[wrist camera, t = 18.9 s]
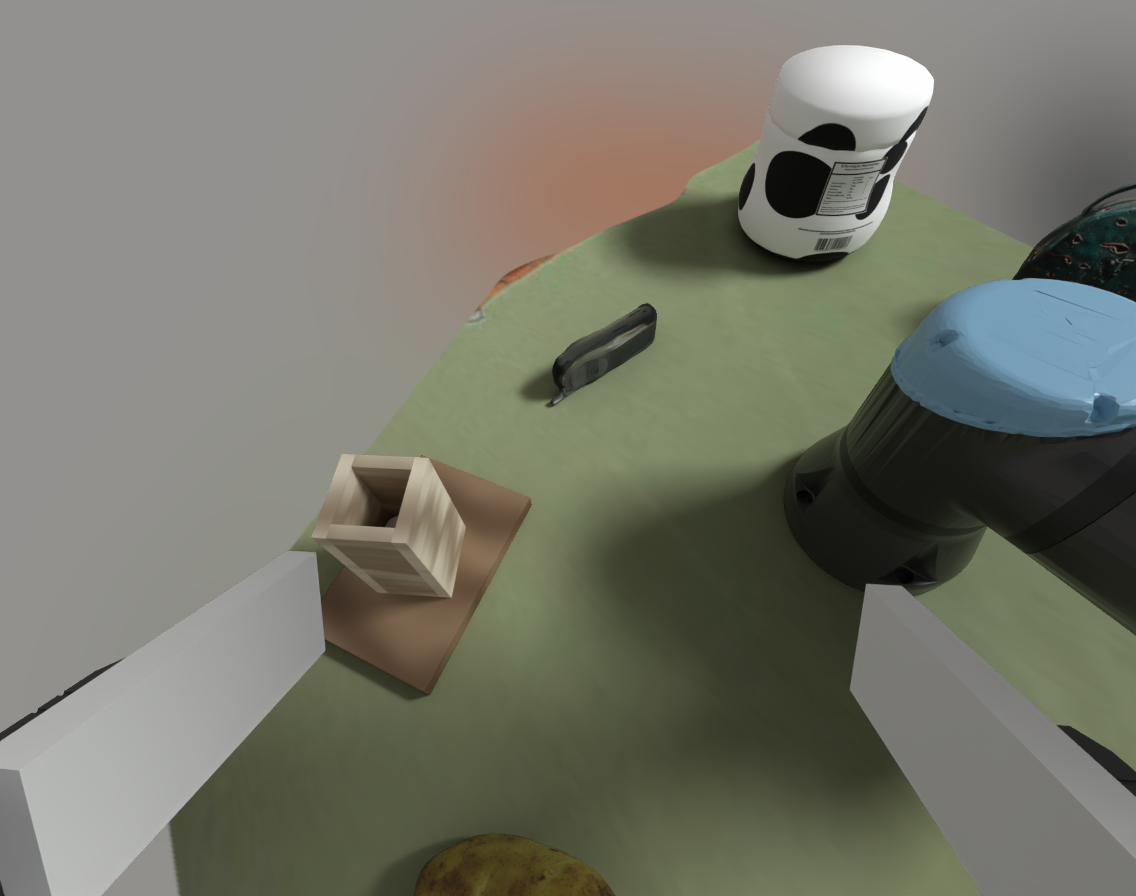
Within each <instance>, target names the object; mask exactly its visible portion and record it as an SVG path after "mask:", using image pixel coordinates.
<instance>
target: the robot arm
mask: <svg viewBox="0 0 1136 896" xmlns="http://www.w3.org/2000/svg"><path fill="white" fill-rule="evenodd" d="M784 504H785V512H786V516H787V519H788V522H789V525H790V528H791V530H792V532H793V534H794V536H795V537H796V539H797V541H798V542H799V544H800V545H801V547H802V548H803V549H804V550H805V552H806V553H807V554H808V555H809V556H810V557H811V558H812V559H813V560H814V561H815V562H816V563H817V564H818V565H819V566H820V567H821V568H823V569H824V570H825V571H826V572H828V573H829V574H831V575H832V576H834V577H835V578H837V579H839V580H840V581H842V582H844V583H846V584H848V585H850V586H852V587H855V588H857V589H860V590H863V591H865V595H864V601H863V608H862V614H861V620H860V627H859V633H858V640H857V646H856V652H855V659H854V665H853V672H852V678H851V684H850V691H851V692H852V694H853V696H854V697H855V699H856V700H857V702H858V703H859V705H860V706H861V708H862V710H863V711H864V713H865V714H866V716H867V717H868V719H869V720H870V722H871V723H872V725H873V727H874V728H875V730H876V731H877V733H878V734H879V736H880V737H881V739H882V741H883V742H884V744H885V745H886V747H887V748H888V750H889V751H890V753H891V755H892V756H893V758H894V759H895V761H896V762H897V764H898V765H899V767H900V768H901V770H902V772H903V773H904V775H905V776H906V778H907V779H908V781H909V782H910V784H911V786H912V787H913V789H914V790H915V792H916V793H917V795H918V796H919V798H920V800H921V801H922V803H923V804H924V806H925V807H926V809H927V810H928V812H929V814H930V815H931V817H932V818H933V820H934V821H935V823H936V824H937V826H938V827H939V829H940V831H941V832H942V834H943V835H944V837H945V838H946V840H947V841H948V843H949V845H950V846H951V848H952V849H953V851H954V852H955V854H956V855H957V857H958V859H959V860H960V862H961V863H962V865H963V866H964V868H965V869H966V871H967V872H968V874H969V876H970V877H971V879H972V880H973V882H974V883H975V885H976V886H977V888H978V890H979V891H980V893H981V894H982V896H1136V772H1135V771H1134V770H1133V769H1132V768H1131V767H1130V766H1128V765H1127V764H1126V763H1125V762H1124V761H1123V760H1121V759H1120V758H1119V757H1118V756H1117V755H1115V754H1114V753H1113V752H1112V751H1110V750H1108V749H1107V748H1105V747H1104V746H1102V745H1100V744H1099V743H1097V742H1095V741H1094V740H1092V739H1090V738H1089V737H1087V736H1085V735H1084V734H1082V733H1080V732H1079V731H1077V730H1075V729H1074V728H1072V727H1070V726H1061V725H1055V724H1054V723H1053V722H1052V721H1051V720H1050V719H1049V718H1048V717H1047V716H1045V715H1044V714H1043V713H1042V712H1041V711H1040V710H1039V709H1038V708H1037V707H1035V706H1034V705H1033V704H1032V703H1031V702H1030V701H1029V700H1028V699H1027V698H1025V697H1024V696H1023V695H1022V694H1021V693H1020V692H1019V691H1018V690H1017V689H1016V688H1014V687H1013V686H1012V685H1011V684H1010V683H1009V682H1008V681H1007V680H1006V679H1004V678H1003V677H1002V676H1001V675H1000V674H999V673H998V672H997V671H996V670H994V669H993V668H992V667H991V666H990V665H989V664H988V663H987V662H986V661H984V660H983V659H982V658H981V657H980V656H979V655H978V654H977V653H976V652H974V651H973V650H972V649H971V648H970V647H969V646H968V645H967V644H966V643H964V642H963V641H962V640H961V639H960V638H959V637H958V636H957V635H956V634H954V633H953V632H952V631H951V630H950V629H949V628H948V627H947V626H946V625H945V624H943V623H942V622H941V621H940V620H939V619H938V618H937V617H936V616H935V615H933V614H932V613H931V612H930V611H929V610H928V609H927V608H926V607H925V606H923V605H922V604H921V603H920V602H919V601H918V600H917V599H916V598H915V597H913V595H918V594H922V593H925V592H928V591H931V590H933V589H935V588H937V587H938V586H940V585H942V584H944V583H945V582H947V581H949V580H951V579H952V578H954V577H955V576H956V575H958V574H959V573H960V572H961V571H962V570H963V569H964V568H965V567H966V566H967V565H968V563H969V562H970V561H971V559H972V557H973V555H974V554H975V552H976V549H977V547H978V545H979V543H980V541H981V539H982V537H983V535H984V533H985V531H986V529H987V527H989V528H991V529H992V530H993V531H995V532H996V533H998V534H999V535H1000V536H1002V537H1003V538H1005V539H1006V540H1007V541H1009V542H1010V543H1012V544H1013V545H1014V546H1016V547H1017V548H1019V549H1020V550H1021V551H1022V552H1024V553H1025V554H1027V555H1028V556H1029V557H1031V558H1032V559H1033V560H1035V561H1036V562H1037V563H1039V564H1040V565H1041V566H1043V567H1044V568H1045V569H1047V570H1048V571H1050V572H1051V573H1052V574H1054V575H1055V576H1056V577H1058V578H1059V579H1060V580H1062V581H1063V582H1064V583H1066V584H1067V585H1068V586H1070V587H1071V588H1072V589H1074V590H1075V591H1076V592H1078V593H1079V594H1080V595H1082V596H1083V597H1085V598H1086V599H1087V600H1089V601H1090V602H1091V603H1093V604H1094V605H1095V606H1097V607H1098V608H1099V609H1101V610H1102V611H1103V612H1105V613H1106V614H1107V615H1109V616H1110V617H1111V618H1113V619H1114V620H1116V621H1117V622H1118V623H1120V624H1121V625H1122V626H1124V627H1125V628H1126V629H1128V630H1129V631H1130V632H1132V633H1133V634H1134V635H1136V302H1134V301H1132V300H1129V299H1127V298H1125V297H1122V296H1120V295H1117V294H1114V293H1111V292H1109V291H1105V290H1102V289H1099V288H1095V287H1092V286H1088V285H1083V284H1079V283H1073V282H1067V281H1061V280H1052V279H1037V278H1025V279H1021V280H997V281H991V282H986V283H982V284H979V285H975V286H972V287H969V288H967V289H964V290H962V291H959V292H957V293H955V294H953V295H951V296H950V297H948V298H946V299H945V300H943V301H942V302H941V303H939V304H938V305H937V306H936V307H935V308H934V309H933V310H932V311H931V312H930V313H929V314H928V315H927V316H926V317H925V319H924V320H923V321H922V322H921V324H920V325H919V326H918V327H917V329H916V330H915V331H914V332H913V333H912V335H910V336H909V337H908V338H906V339H905V340H904V341H903V342H902V343H901V344H900V345H899V347H898V348H897V349H896V351H895V355H894V357H893V358H892V361H891V363H890V365H889V366H888V368H887V369H886V371H885V372H884V374H883V375H882V376H881V378H880V379H879V381H878V382H877V384H876V385H875V387H874V388H873V390H872V391H871V392H870V394H869V395H868V397H867V398H866V400H865V401H864V403H863V404H862V406H861V407H860V408H859V410H858V411H857V413H856V414H855V416H854V417H853V419H852V420H851V422H850V423H849V424H848V425H847V426H845V427H843V428H841V429H840V430H838V431H836V432H834V433H832V434H831V435H829V436H827V437H825V438H823V439H821V440H820V441H818V442H816V443H815V444H814V445H812V446H811V447H810V448H809V449H808V450H807V451H806V452H805V453H804V454H803V455H802V456H801V457H800V459H799V460H798V462H797V464H796V465H795V467H794V468H793V470H792V472H791V473H790V475H789V478H788V480H787V483H786V487H785V494H784ZM325 651H326V650H325V640H324V629H323V619H322V609H321V598H320V588H319V578H318V568H317V557H316V552H302V551H286V552H284V553H283V554H281V555H280V556H278V557H277V558H275V559H274V560H272V561H271V562H269V563H268V564H266V565H265V566H263V567H262V568H260V569H259V570H257V571H256V572H254V573H253V574H251V575H250V576H248V577H247V578H245V579H244V580H242V581H240V582H239V583H237V584H236V585H235V586H233V587H231V588H230V589H228V590H227V591H226V592H224V593H222V594H221V595H219V596H218V597H216V598H215V599H213V600H212V601H211V602H209V603H207V604H206V605H204V606H203V607H201V608H200V609H198V610H197V611H195V612H194V613H193V614H191V615H189V616H188V617H186V618H185V619H183V620H182V621H180V622H179V623H177V624H176V625H175V626H173V627H171V628H170V629H169V630H167V631H165V632H164V633H162V634H161V635H159V636H158V637H156V638H155V639H153V640H152V641H150V642H149V643H147V644H146V645H144V646H143V647H142V648H140V649H138V650H137V651H135V652H134V653H132V654H131V655H129V656H128V657H126V658H124V659H121V660H119V661H117V662H115V663H112V664H110V665H108V666H106V667H104V668H101V669H99V670H97V671H95V672H93V673H92V674H90V675H89V676H87V677H86V678H84V679H83V680H81V681H79V682H78V683H77V684H75V685H73V686H72V687H70V688H69V689H67V690H66V691H64V694H63V695H62V696H56V697H55V698H54V699H52V700H50V701H49V702H48V703H46V704H44V705H43V706H41V707H40V708H38V711H37V712H36V713H31V714H29V715H27V716H26V717H24V718H23V719H21V720H20V721H18V722H17V723H15V724H14V725H12V726H10V727H9V728H7V729H6V730H4V731H3V732H1V733H0V896H102V895H103V894H104V892H105V891H106V890H107V889H108V888H109V887H110V886H111V885H112V883H114V881H115V880H116V879H117V878H118V877H119V876H120V875H121V874H122V873H123V872H124V870H125V869H126V868H127V867H128V866H129V865H130V864H131V863H132V862H133V861H134V860H135V859H136V857H137V856H138V855H139V854H140V853H141V852H142V851H143V850H144V849H145V848H146V846H147V845H148V844H149V843H150V842H151V841H152V840H153V839H154V838H155V837H156V836H157V834H158V833H159V832H160V831H161V830H162V829H163V828H164V827H165V826H166V825H167V824H168V822H169V821H170V820H171V819H172V818H173V817H174V816H175V815H176V814H177V813H178V811H179V810H180V809H181V808H182V807H183V806H184V805H185V804H186V803H187V802H188V801H189V799H190V798H191V797H192V796H193V795H194V794H195V793H196V792H197V791H198V790H199V788H200V787H201V786H202V785H203V784H204V783H205V782H206V781H207V780H208V779H209V778H210V776H211V775H212V774H213V773H214V772H215V771H216V770H217V769H218V768H219V767H220V766H221V764H222V763H223V762H224V761H225V760H226V759H227V758H228V757H229V756H230V755H231V753H232V752H233V751H234V750H235V749H236V748H237V747H238V746H239V745H240V744H241V743H242V741H243V740H244V739H245V738H246V737H247V736H248V735H249V734H250V733H251V732H252V731H253V729H254V728H255V727H256V726H257V725H258V724H259V723H260V722H261V721H262V720H263V718H264V717H265V716H266V715H267V714H268V713H269V712H270V711H271V710H272V709H273V708H274V706H275V705H276V704H277V703H278V702H279V701H280V700H281V699H282V698H283V697H284V695H285V694H286V693H287V692H288V691H289V690H290V689H291V688H292V687H293V686H294V685H295V683H296V682H297V681H298V680H299V679H300V678H301V677H302V676H303V675H304V674H305V673H306V671H307V670H308V669H309V668H310V667H311V666H312V665H313V664H314V663H315V662H316V660H317V659H318V658H319V657H320V656H321V655H322V654H323V653H324V652H325Z"/></svg>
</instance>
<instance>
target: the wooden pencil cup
mask: <svg viewBox="0 0 1136 896" xmlns="http://www.w3.org/2000/svg"><path fill="white" fill-rule="evenodd" d="M395 516H398V519H397V523H396V527H395V528H387V527H385V525H386V524H387V522H388V521H389V520H390V519H391V518H393V517H395ZM465 529H466V526H465V525H464V523H463V521H462V519H461V517H460V515H459V513H458V512H457V510H456V508H455V506H454V504H453V502H452V500H451V499H450V497H449V495H448V493H447V491H446V489H445V488H444V486H443V484H442V482H441V480H440V478H439V476H438V475H437V473H436V471H435V469H434V467H433V465H432V463H431V462H430V460H429V458H417V457H394V456H372V455H350V454H349V455H347V454H342V456H341V458H340V461H339V464H338V467H337V469H336V472H335V475H334V477H333V480H332V483H331V485H330V488H329V491H328V494H327V497H326V500H325V502H324V504H323V507H322V510H321V513H320V515H319V518H318V521H317V523H316V526H315V529H314V532H313V534H312V537H311V538H313V539H314V540H315V541H316V542H317V543H319V544H320V545H321V546H322V547H323V548H325V549H326V550H327V551H328V552H329V553H331V554H332V555H333V556H334V557H335V558H337V559H338V560H339V561H340V562H341V563H343V564H344V565H345V566H346V567H347V568H349V569H350V570H351V571H352V572H353V573H355V574H356V575H357V576H358V577H359V578H361V579H362V580H363V581H364V582H366V583H367V584H368V585H369V586H370V587H372V588H373V589H374V590H375V591H376V592H378V593H389V594H403V595H418V596H432V597H446V598H452V593H453V588H454V583H455V578H456V573H457V568H458V563H459V558H460V553H461V549H462V544H463V539H464V534H465Z"/></svg>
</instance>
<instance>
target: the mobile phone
mask: <svg viewBox="0 0 1136 896" xmlns="http://www.w3.org/2000/svg"><path fill="white" fill-rule="evenodd" d="M656 321H657V313H656V310H655V309H654V308H653V307H652V306H651V305H650V304H648V303H646V304H643V305H641V306H639V307H638V308H637V309H635V310H634V311H632V312H630V313H629V314H627V315H625V316H624V317H622V318H620V319H618V320H616V321H615V322H613V323H611V324H610V325H608V326H606V327H605V328H603V329H601V330H599V331H596V332H594V333H592V334H590V335H588V336H585V337H583V338H581V339H579V340H577V341H576V342H574V343H572V344H571V345H570V346H569V347H568V348H567V349H566V350H565V351H564V352H563V353H562V354H561V355H560V356H559V357H558V358H557V359H556V361H555V363H554V365H553V369H552V373H553V379H554V382H555V384H556V385H557V386H558V387H559V389H560V393H559V394H558V396H556V397H555V398H553V399H552V400H551V403H552V404H553V405H556V404H557V403H559V402H560V401H561V400H563V399H564V398H565V397H567V396H568V395H569V394H571V393H572V392H574V391H575V390H577V389H579V388H581V387H582V386H584V385H585V384H587V383H589V382H591V381H593V380H595V379H597V378H599V377H601V376H602V375H604V374H605V373H607V372H608V371H610V370H611V369H613V368H615V367H617V366H618V365H620V364H622V363H624V362H625V361H627V360H629V359H630V358H632V357H633V356H635V355H637V354H638V353H640V352H641V351H643V350H644V349H646V348H647V347H648V346H649V345H651V344H652V342H653V340H654V337H655V330H656Z"/></svg>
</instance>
